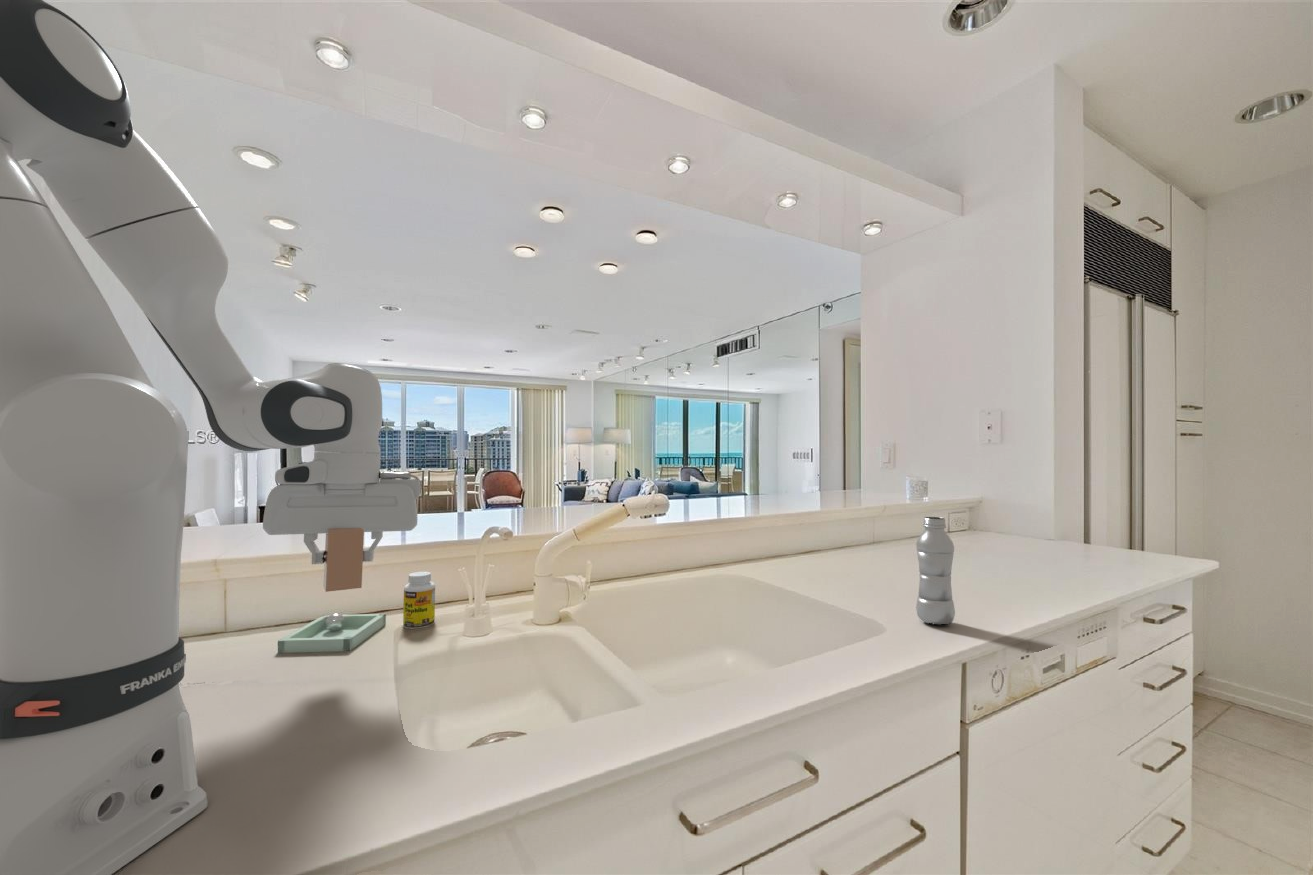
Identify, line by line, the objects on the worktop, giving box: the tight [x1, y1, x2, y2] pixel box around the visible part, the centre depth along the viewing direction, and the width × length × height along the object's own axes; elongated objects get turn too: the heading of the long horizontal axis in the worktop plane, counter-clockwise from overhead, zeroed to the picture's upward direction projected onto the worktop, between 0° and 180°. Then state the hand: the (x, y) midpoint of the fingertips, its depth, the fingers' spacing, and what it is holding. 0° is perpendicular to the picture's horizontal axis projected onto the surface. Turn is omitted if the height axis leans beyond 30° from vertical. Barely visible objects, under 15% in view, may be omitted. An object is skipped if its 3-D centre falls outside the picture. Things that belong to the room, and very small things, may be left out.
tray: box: [277, 613, 387, 654], centre depth 90 cm, size 13×11×2 cm
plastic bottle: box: [915, 516, 956, 625], centre depth 100 cm, size 6×7×20 cm
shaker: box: [323, 528, 365, 593], centre depth 80 cm, size 5×5×10 cm
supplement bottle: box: [402, 571, 436, 629], centre depth 97 cm, size 5×5×10 cm
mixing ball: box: [325, 612, 345, 631], centre depth 93 cm, size 3×3×3 cm
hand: (343, 562), depth 80 cm, fingers closed on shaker, 5 cm apart
